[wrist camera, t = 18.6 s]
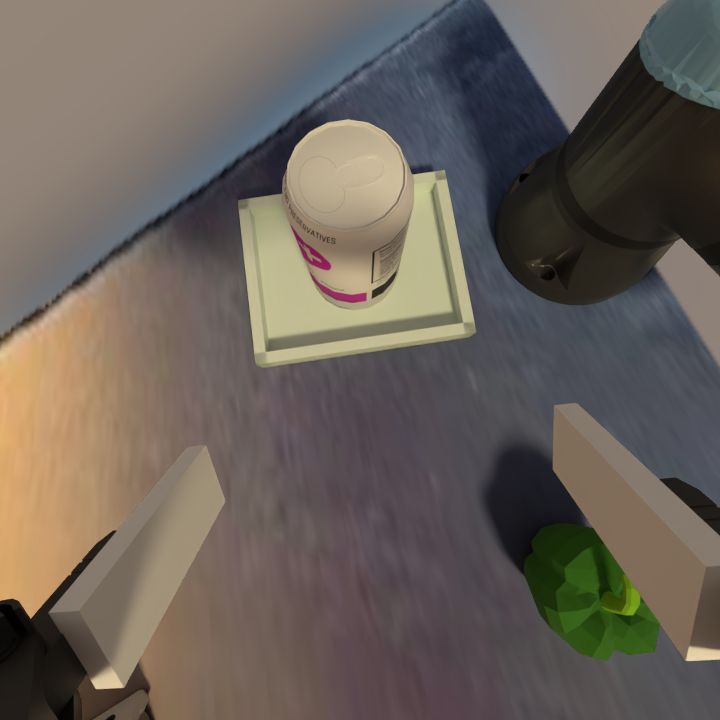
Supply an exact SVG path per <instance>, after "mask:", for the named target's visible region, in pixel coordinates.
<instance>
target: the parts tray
mask: <svg viewBox="0 0 720 720" xmlns="http://www.w3.org/2000/svg"><path fill="white" fill-rule="evenodd" d="M413 178H414V204H413V209H412V213H411V217H410V222H409V226H408V231H407V235H406V239H405V244H404V248H403V252H402V257H401V261H400V265H399V270H398V274H397V278H396V280H395V283H394V285H393V288H392V290H391V291H390V292H389V294H388V295H387V296H386V297H385V298H384V299H383V300H382V301H381V302H379V303H377V304H375V305H374V306H372V307H370V308H367V309H360V310H354V311H353V310H348V309H342V308H338V307H336V306H335V305H333V304H331V303H329V302H328V301H326V300H325V299H324V298H323V297H322V295H321V294H320V293H319V292H318V291H317V289H316V287H315V285H314V282H313V280H312V277H311V275H310V272H309V270H308V267H307V265H306V262H305V260H304V258H303V255H302V253H301V250H300V248H299V245H298V243H297V240H296V238H295V235H294V233H293V230H292V228H291V225H290V223H289V220H288V217H287V214H286V211H285V208H284V205H283V203H282V194H277V195H270V196H263V197H257V198H250V199H243V200H238V207H239V216H240V226H241V235H242V244H243V253H244V262H245V271H246V280H247V289H248V299H249V308H250V317H251V326H252V335H253V344H254V353H255V362H256V365H258V366H260V367H262V368H266V367H273V366H280V365H286V364H293V363H300V362H307V361H313V360H320V359H327V358H334V357H340V356H347V355H354V354H361V353H367V352H374V351H381V350H387V349H394V348H401V347H408V346H414V345H421V344H428V343H435V342H441V341H448V340H455V339H462V338H468V337H470V336H471V335H473V334H474V333H476V328H475V323H474V318H473V312H472V307H471V302H470V297H469V292H468V287H467V282H466V277H465V272H464V266H463V261H462V256H461V251H460V246H459V241H458V236H457V231H456V225H455V220H454V215H453V210H452V205H451V200H450V195H449V190H448V185H447V179H446V174H445V170H441V171H434V172H428V173H421V174H414V175H413Z"/></svg>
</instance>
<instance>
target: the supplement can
mask: <svg viewBox="0 0 720 720" xmlns="http://www.w3.org/2000/svg"><path fill="white" fill-rule="evenodd" d="M282 203H283V205H284V208H285V211H286V214H287V217H288V220H289V223H290V225H291V228H292V230H293V233H294V235H295V238H296V240H297V243H298V245H299V248H300V250H301V253H302V255H303V258H304V260H305V262H306V265H307V267H308V270H309V272H310V275H311V277H312V280H313V282H314V285H315V287H316V289H317V291H318V292H319V293H320V294H321V295H322V297H323V298H324V299H325V300H326V301H328V302H329V303H331V304H333V305H335V306H336V307H338V308H342V309H348V310H353V311H354V310H360V309H367V308H370V307H372V306H374V305H375V304H377V303H379V302H381V301H382V300H383V299H384V298H385V297H386V296H387V295H388V294H389V292H390V291H391V290H392V288H393V285H394V283H395V280H396V278H397V274H398V270H399V265H400V261H401V257H402V252H403V248H404V244H405V239H406V235H407V231H408V226H409V222H410V217H411V213H412V209H413V204H414V178H413V175H412V173H411V170H410V168H409V165H408V163H407V160H406V159H405V157H404V156H403V154H402V152H401V149H400V147H399V146H398V145H397V143H396V142H395V141H394V140H393V139H392V138H391V137H390V136H389V135H388V134H387V133H386V132H385V131H383V130H381V129H379V128H377V127H375V126H374V125H372V124H370V123H367V122H361V121H354V120H341V121H335V122H329V123H326V124H324V125H322V126H320V127H318V128H316V129H314V130H312V131H310V132H309V133H308V134H307V135H306V136H305V137H304V138H303V139H302V140H301V141H300V142H299V143H298V144H297V145H296V146H295V149H294V151H293V153H292V155H291V158H290V160H289V162H288V165H287V170H286V173H285V175H284V177H283V185H282Z"/></svg>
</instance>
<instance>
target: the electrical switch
mask: <svg viewBox="0 0 720 720" xmlns="http://www.w3.org/2000/svg"><path fill="white" fill-rule="evenodd" d="M148 701H149V696H148V694H147V693H146V692H145V691H144V690H139V691H137V692H135V693H134V694H132V695H131V696H129V697H128V698H126V699H124V700H123V701H121V702H120V703H118V704H116V705H115V706H113V707H112V708H110V709H109V710H107V711H105V712H104V713H102V714H101V715H99V716H97V717H96V718H94V719H93V720H150V719H149V716H148V714H147V713H146V712H145V711H144V709H145V707H146V705H147V703H148Z"/></svg>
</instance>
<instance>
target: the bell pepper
mask: <svg viewBox="0 0 720 720" xmlns="http://www.w3.org/2000/svg"><path fill="white" fill-rule="evenodd" d="M531 544H532V548H533V552H532V553H531V554H530V555H529V556H527V557H526V559H525V563H524V574H525V577H526V580H527V583H528V585H529V588H530V591H531V593H532V596H533V599H534V601H535V604H536V606H537V608H538V611H539V613H540V615H541V617H542V618H543V619H544V620H545V622H546V623H547V624H548V625H549V627H550V628H551V629H552V630H553V631H554V632H555V633H557V634H558V635H559V636H560V637H561V638H562V639H563V640H565V641H566V642H567V643H568V644H569V645H570V646H571V647H572V648H574V649H575V650H576V651H577V652H578V653H579V654H582V655H586V656H589V657H592V658H598V659H604V660H609V658H610V656H611V655H612V653H613V651H614V649H615V650H618V651H620V652H622V653H625V654H627V655H634V654H642V653H651V652H655V647H656V642H657V637H658V631H659V626H660V623H659V622H658V620H657V619H656V617H655V616H654V614H653V613H652V612H651V610H650V609H649V607H648V606H647V604H646V603H645V601H644V600H643V599H642V597H641V596H640V594H639V593H638V591H637V590H636V589H635V587H634V586H633V584H632V583H631V581H630V580H629V578H628V577H627V576H626V574H625V573H624V571H623V570H622V568H621V567H620V566H619V564H618V563H617V561H616V560H615V558H614V557H613V555H612V554H611V553H610V551H609V550H608V548H607V547H606V545H605V544H604V542H603V541H602V540H601V538H600V537H599V535H598V534H597V532H596V531H595V530H594V528H589V527H585V526H580V525H575V524H568V523H554V524H551V525H548V526H545V527H542V528H541V529H540V530H539V532H538V533H537V534H536V536H535V537H534V538H533V540H532V541H531Z"/></svg>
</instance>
